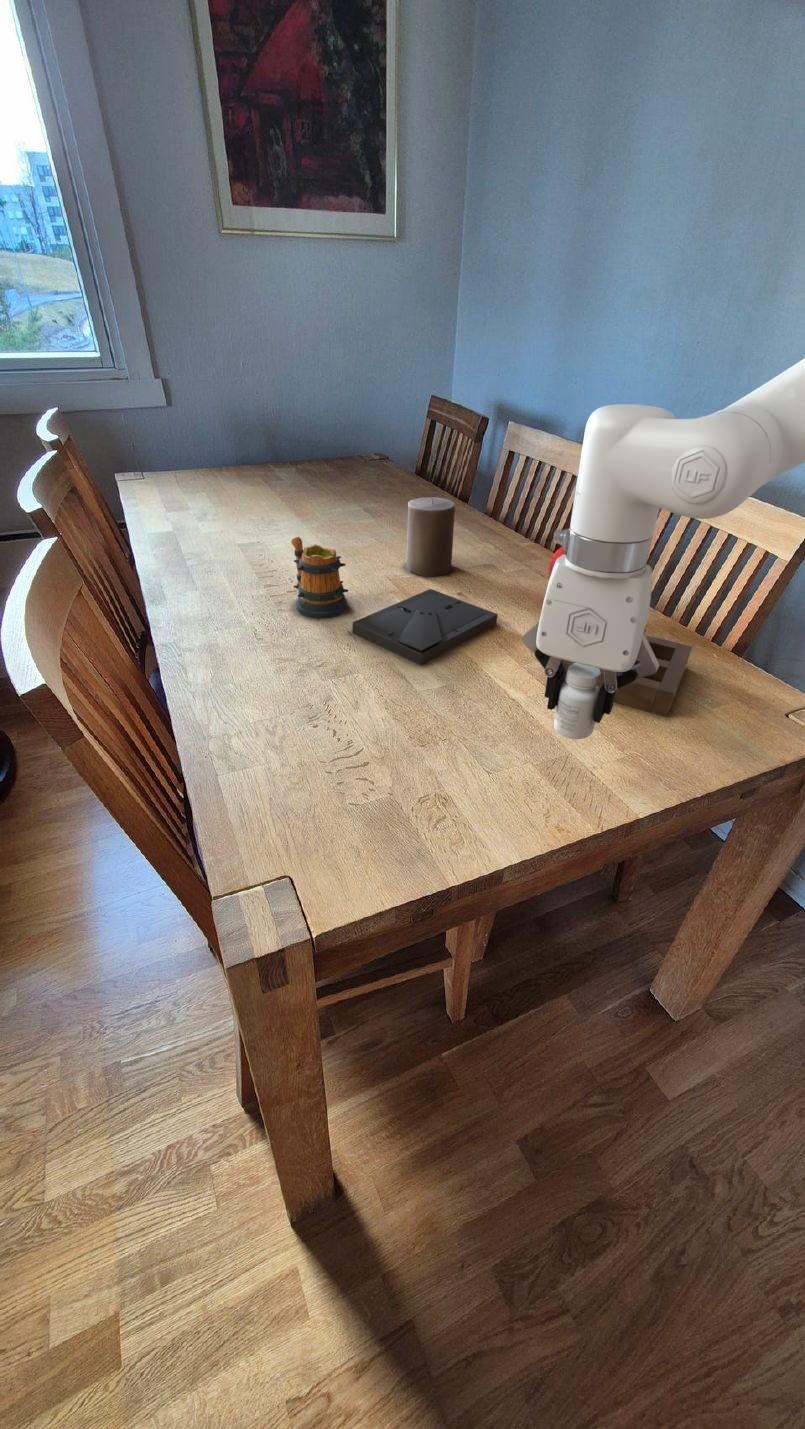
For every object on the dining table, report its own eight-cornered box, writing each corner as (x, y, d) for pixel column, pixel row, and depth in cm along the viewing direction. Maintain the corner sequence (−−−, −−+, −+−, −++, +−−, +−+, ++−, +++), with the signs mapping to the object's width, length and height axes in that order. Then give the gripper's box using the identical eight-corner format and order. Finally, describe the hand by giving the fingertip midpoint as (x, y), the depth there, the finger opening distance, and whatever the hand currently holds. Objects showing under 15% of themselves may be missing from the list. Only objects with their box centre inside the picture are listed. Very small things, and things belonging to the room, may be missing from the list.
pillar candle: (452, 577, 130) (457, 504, 122) (405, 575, 130) (407, 502, 122) (450, 560, 138) (455, 491, 130) (406, 559, 138) (408, 489, 130)
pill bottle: (583, 716, 73) (595, 658, 69) (599, 738, 70) (612, 678, 65) (547, 720, 73) (557, 661, 68) (561, 742, 69) (572, 681, 65)
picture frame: (420, 665, 100) (496, 624, 112) (421, 649, 98) (498, 610, 111) (352, 633, 108) (430, 598, 121) (352, 618, 107) (430, 585, 119)
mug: (360, 608, 117) (359, 548, 110) (316, 624, 111) (312, 561, 104) (318, 587, 124) (315, 529, 118) (275, 600, 118) (269, 541, 112)
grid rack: (685, 668, 101) (692, 646, 99) (666, 717, 89) (674, 693, 87) (585, 642, 108) (590, 621, 105) (556, 685, 96) (560, 662, 93)
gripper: (509, 546, 60) (493, 705, 70) (695, 579, 53) (647, 750, 63) (535, 526, 66) (516, 676, 76) (707, 553, 59) (661, 715, 69)
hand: (576, 708), depth 70 cm, fingers closed on pill bottle, 4 cm apart
